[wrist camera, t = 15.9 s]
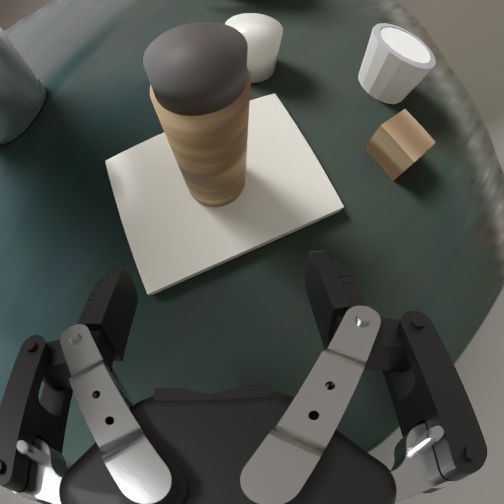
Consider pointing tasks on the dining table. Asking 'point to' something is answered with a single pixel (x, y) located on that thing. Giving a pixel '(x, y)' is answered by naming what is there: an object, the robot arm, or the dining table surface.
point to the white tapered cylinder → (394, 63)
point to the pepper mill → (203, 105)
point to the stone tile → (225, 217)
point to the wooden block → (399, 143)
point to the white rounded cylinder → (259, 42)
